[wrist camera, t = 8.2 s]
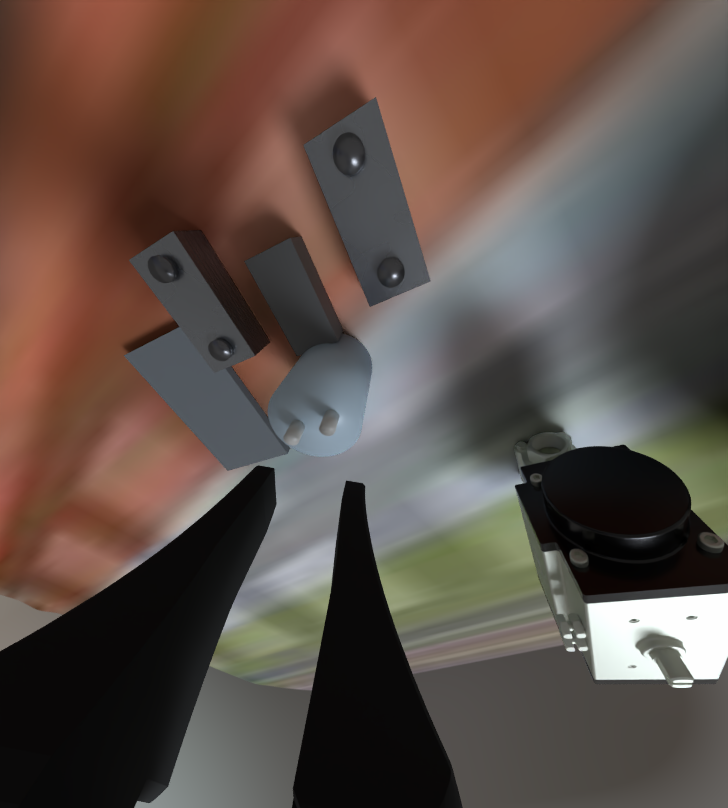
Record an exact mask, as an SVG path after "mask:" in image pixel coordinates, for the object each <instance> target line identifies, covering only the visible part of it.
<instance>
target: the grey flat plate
mask: <svg viewBox="0 0 728 808" xmlns="http://www.w3.org/2000/svg"><path fill="white" fill-rule="evenodd" d="M124 356H125V357H126V358H127V359H128V361H129V362H130V363H131V364H132V365H133V366H134V367H135V368H136V369H137V371H138V372H139V373H140V374H141V375H142V376H143V377H144V378H145V379H146V381H147V382H148V383H149V384H150V385H151V386H152V387H153V388H154V389H155V391H156V392H157V393H158V394H159V395H160V396H161V397H162V398H163V399H164V401H165V402H166V403H167V404H168V405H169V406H170V407H171V408H172V409H173V411H174V412H175V413H176V414H177V415H178V416H179V417H180V418H181V419H182V421H183V422H184V423H185V424H186V425H187V426H188V427H189V428H190V429H191V431H192V432H193V433H194V434H195V435H196V436H197V437H198V438H199V439H200V441H201V442H202V443H203V444H204V445H205V446H206V447H207V448H208V449H209V451H210V452H211V453H212V454H213V455H214V456H215V457H216V458H217V459H218V461H219V462H220V463H221V464H222V465H223V466H224V467H225V468H226V469H227V471H228V470H232V469H235V468H239V467H242V466H246V465H249V464H253V463H256V462H260V461H263V460H267V459H270V458H274V457H277V456H281V455H284V454H288V452H289V449H290V448H289V446H288V445H287V444H285V443H284V442H283V441H282V440H281V439H280V438H279V437H278V436H277V435H276V433H275V432H274V430H273V429H272V426H271V424H270V421H269V418H268V417H267V416H266V414H265V413H264V411H263V410H262V409H261V407H260V406H259V405H258V403H257V402H256V400H255V399H254V398H253V396H252V395H251V393H250V392H249V391H248V389H247V388H246V386H245V385H244V384H243V382H242V381H241V379H240V378H239V377H238V375H237V374H236V373H235V371H234V370H233V368H232V367H231V366H230V367H228V368H225V369H223V370H221V371H218V372H216V373H214V372H213V370H212V369H211V368H210V366H209V365H208V364H207V362H206V361H205V360H204V358H203V357H202V356H201V354H200V353H199V352H198V350H197V349H196V348H195V346H194V345H193V344H192V343H191V341H190V340H189V339H188V337H187V336H186V335H185V333H184V332H183V331H182V329H181V328H180V327H178V328H177V329H175V330H173V331H171V332H169V333H167V334H165V335H163V336H161V337H159V338H157V339H155V340H153V341H151V342H149V343H147V344H145V345H143V346H142V347H140V348H138V349H136V350H134V351H132V352H130V353H128V354H126V355H124Z"/></svg>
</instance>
